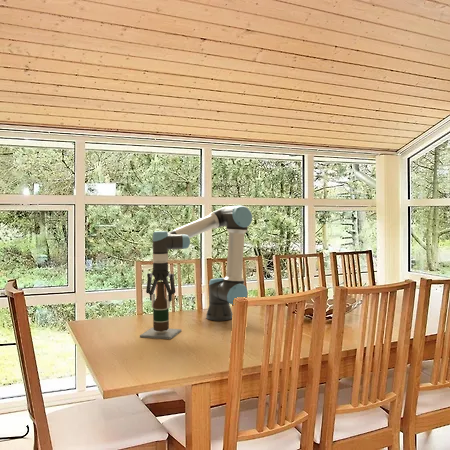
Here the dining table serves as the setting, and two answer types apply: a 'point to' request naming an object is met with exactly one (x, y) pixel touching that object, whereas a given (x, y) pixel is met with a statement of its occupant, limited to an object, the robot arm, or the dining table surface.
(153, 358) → the dining table surface
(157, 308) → the beer bottle
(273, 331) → the dining table surface
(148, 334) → the slate trivet
